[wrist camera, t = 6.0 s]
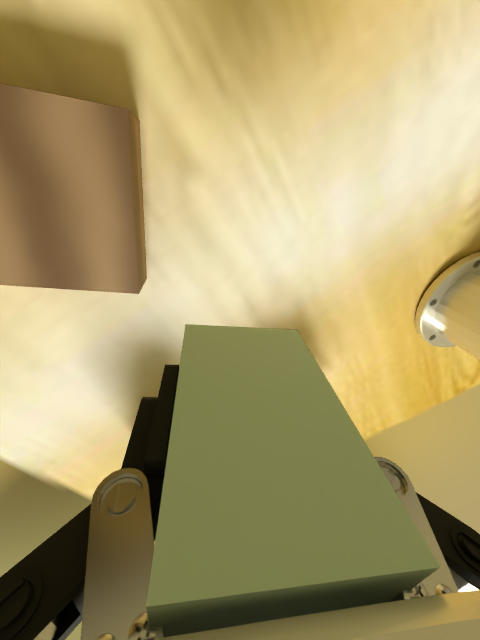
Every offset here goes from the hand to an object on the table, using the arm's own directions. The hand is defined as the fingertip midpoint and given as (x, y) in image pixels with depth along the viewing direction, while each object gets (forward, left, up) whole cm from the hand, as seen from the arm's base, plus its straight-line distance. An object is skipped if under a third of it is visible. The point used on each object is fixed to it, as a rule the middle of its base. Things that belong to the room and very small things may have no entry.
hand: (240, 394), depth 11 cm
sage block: (0, 0, -2) cm, 2 cm away
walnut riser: (+13, -5, -16) cm, 21 cm away
